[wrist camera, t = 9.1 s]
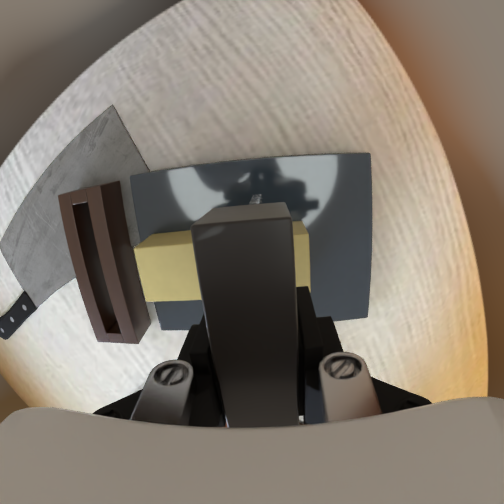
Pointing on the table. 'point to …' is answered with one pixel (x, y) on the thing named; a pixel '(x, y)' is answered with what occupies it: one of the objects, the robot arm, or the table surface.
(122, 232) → the block
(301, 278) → the butter slice
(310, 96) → the table surface
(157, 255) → the butter stick
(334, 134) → the table surface
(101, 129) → the cleaver
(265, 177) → the butter dish
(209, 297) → the bench scraper
